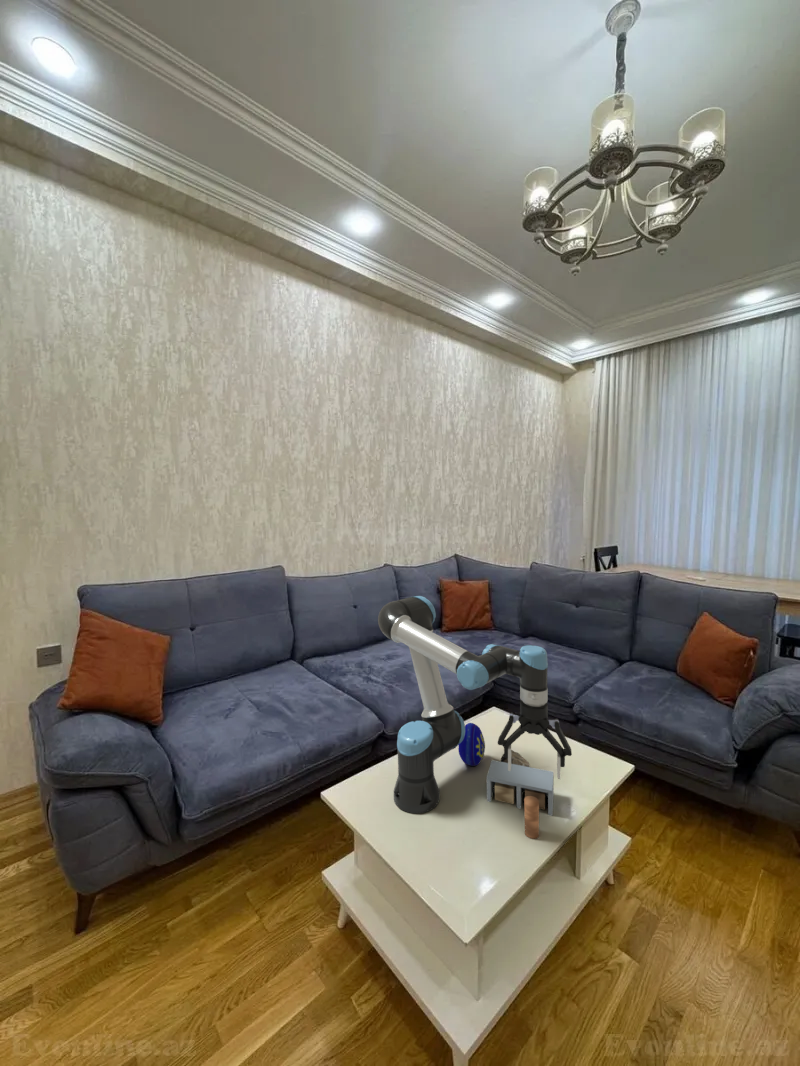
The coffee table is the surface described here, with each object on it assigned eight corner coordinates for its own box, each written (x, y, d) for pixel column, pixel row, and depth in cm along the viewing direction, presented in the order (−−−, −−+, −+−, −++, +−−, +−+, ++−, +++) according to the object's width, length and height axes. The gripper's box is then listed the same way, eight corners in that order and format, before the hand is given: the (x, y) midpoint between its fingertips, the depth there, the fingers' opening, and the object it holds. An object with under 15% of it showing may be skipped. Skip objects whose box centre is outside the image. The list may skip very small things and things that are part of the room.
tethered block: (520, 835, 124) (520, 802, 123) (526, 793, 142) (526, 764, 141) (542, 841, 121) (542, 807, 121) (545, 797, 140) (545, 767, 139)
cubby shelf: (486, 801, 139) (486, 777, 138) (492, 782, 148) (491, 759, 147) (552, 815, 131) (552, 790, 131) (553, 795, 141) (553, 771, 140)
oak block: (494, 800, 139) (494, 785, 139) (497, 788, 145) (497, 774, 144) (513, 804, 137) (513, 789, 137) (516, 792, 143) (515, 778, 142)
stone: (522, 787, 145) (523, 766, 145) (496, 769, 155) (496, 750, 155) (536, 780, 149) (537, 760, 149) (510, 763, 159) (510, 744, 159)
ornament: (477, 774, 152) (477, 733, 152) (454, 766, 157) (453, 727, 156) (488, 758, 162) (488, 720, 161) (466, 751, 167) (465, 714, 166)
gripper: (488, 701, 123) (488, 772, 125) (581, 713, 115) (581, 788, 117) (491, 690, 131) (491, 757, 132) (579, 700, 123) (579, 772, 124)
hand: (533, 772), depth 124 cm, fingers open, 13 cm apart
